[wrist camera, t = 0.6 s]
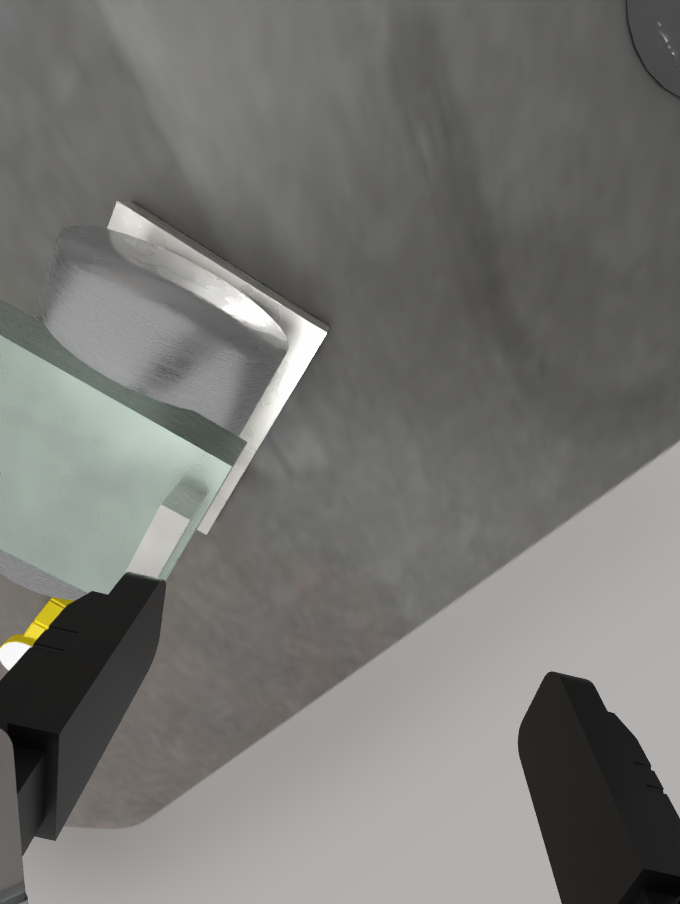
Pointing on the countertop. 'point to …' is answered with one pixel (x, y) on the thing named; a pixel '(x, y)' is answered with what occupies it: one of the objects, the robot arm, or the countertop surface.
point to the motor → (134, 401)
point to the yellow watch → (31, 632)
